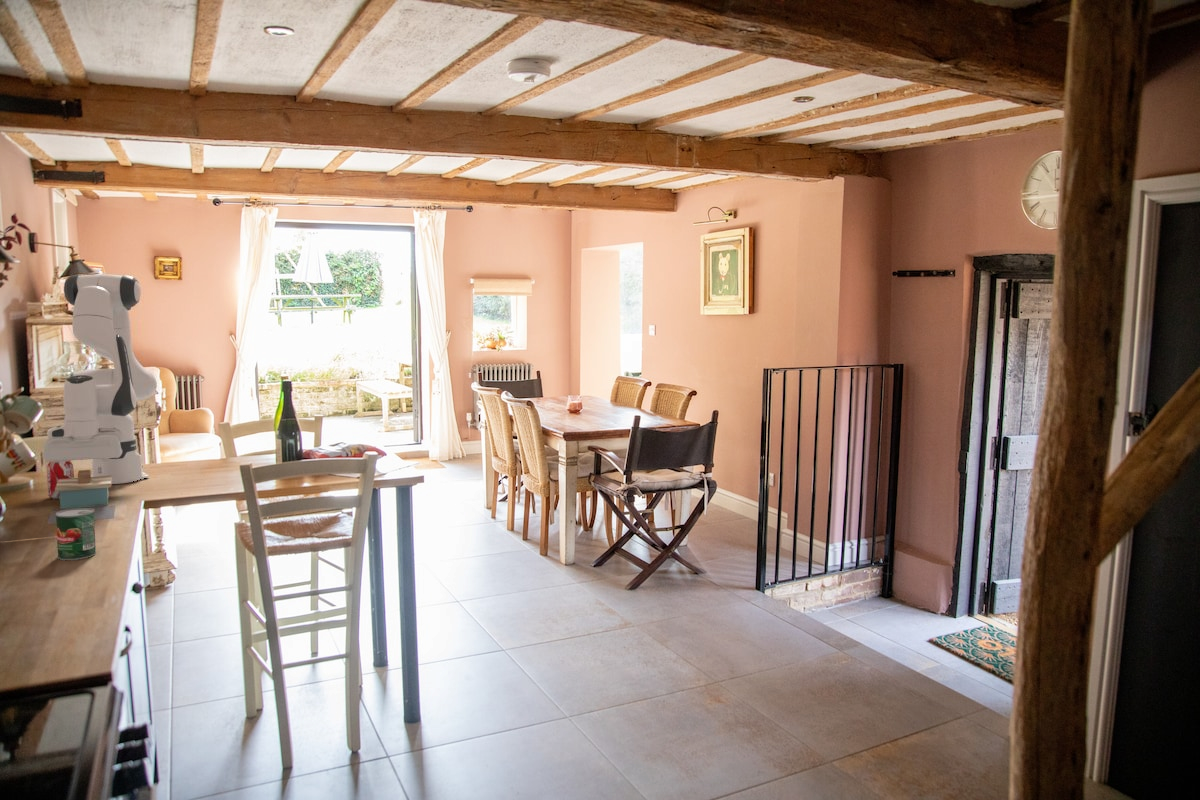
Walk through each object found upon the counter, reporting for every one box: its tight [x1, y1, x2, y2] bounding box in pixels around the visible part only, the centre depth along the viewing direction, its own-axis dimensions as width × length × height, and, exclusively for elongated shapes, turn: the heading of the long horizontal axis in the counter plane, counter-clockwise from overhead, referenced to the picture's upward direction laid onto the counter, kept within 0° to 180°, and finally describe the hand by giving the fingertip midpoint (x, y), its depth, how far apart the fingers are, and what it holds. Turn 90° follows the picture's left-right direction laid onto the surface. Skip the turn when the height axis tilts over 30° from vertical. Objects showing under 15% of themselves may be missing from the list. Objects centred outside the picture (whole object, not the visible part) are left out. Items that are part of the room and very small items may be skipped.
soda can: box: [46, 460, 75, 500], centre depth 255 cm, size 7×7×12 cm
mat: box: [46, 505, 116, 525], centre depth 234 cm, size 16×16×1 cm
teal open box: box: [59, 487, 110, 510], centre depth 247 cm, size 12×12×6 cm
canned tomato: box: [55, 507, 97, 561], centre depth 197 cm, size 8×8×11 cm
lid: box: [55, 469, 112, 491], centre depth 247 cm, size 14×14×4 cm
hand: (84, 473), depth 247 cm, fingers open, 7 cm apart
